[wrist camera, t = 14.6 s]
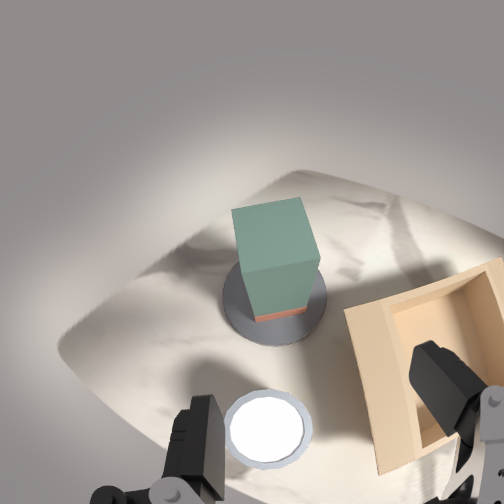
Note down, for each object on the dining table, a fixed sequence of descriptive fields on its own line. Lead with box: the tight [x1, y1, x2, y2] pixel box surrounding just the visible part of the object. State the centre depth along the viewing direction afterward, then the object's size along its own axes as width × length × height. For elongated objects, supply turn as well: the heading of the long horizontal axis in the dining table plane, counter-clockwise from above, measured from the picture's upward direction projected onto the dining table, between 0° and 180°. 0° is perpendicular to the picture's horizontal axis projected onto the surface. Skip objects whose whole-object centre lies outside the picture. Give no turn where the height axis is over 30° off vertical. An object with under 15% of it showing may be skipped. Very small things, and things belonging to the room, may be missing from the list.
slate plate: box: [223, 261, 326, 346], centre depth 29 cm, size 11×11×1 cm
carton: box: [343, 257, 504, 476], centre depth 21 cm, size 23×16×6 cm
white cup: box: [224, 389, 313, 470], centre depth 20 cm, size 7×7×7 cm
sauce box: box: [231, 197, 321, 323], centre depth 23 cm, size 5×5×12 cm
